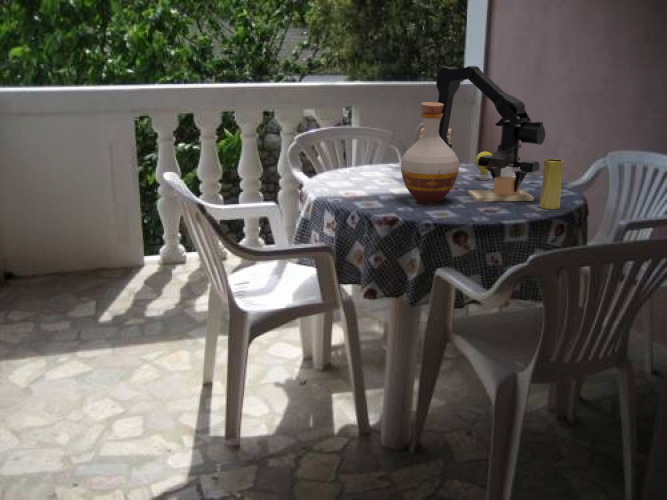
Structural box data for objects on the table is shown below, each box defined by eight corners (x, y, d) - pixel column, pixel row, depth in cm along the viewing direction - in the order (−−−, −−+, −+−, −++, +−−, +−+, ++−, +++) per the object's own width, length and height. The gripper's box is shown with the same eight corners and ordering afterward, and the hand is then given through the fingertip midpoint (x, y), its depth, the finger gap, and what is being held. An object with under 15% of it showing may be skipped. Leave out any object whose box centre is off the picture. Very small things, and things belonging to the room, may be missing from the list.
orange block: (509, 196, 223) (511, 180, 222) (493, 193, 228) (494, 177, 226) (520, 193, 228) (521, 177, 226) (503, 190, 232) (504, 175, 230)
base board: (476, 201, 222) (477, 188, 220) (467, 193, 232) (468, 181, 231) (533, 200, 223) (534, 188, 222) (521, 193, 233) (522, 181, 232)
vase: (536, 204, 218) (540, 158, 214) (557, 204, 218) (561, 158, 214) (541, 209, 212) (546, 161, 208) (562, 209, 212) (567, 161, 208)
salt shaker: (511, 185, 246) (514, 147, 242) (494, 184, 247) (497, 147, 243) (511, 181, 251) (514, 145, 248) (494, 181, 252) (497, 144, 249)
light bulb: (497, 179, 255) (499, 152, 252) (483, 181, 251) (485, 153, 248) (483, 176, 260) (485, 149, 257) (470, 178, 256) (471, 151, 253)
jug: (388, 195, 229) (390, 100, 221) (437, 191, 236) (441, 99, 227) (415, 209, 212) (419, 106, 203) (468, 204, 218) (474, 104, 209)
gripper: (470, 141, 222) (467, 190, 227) (526, 147, 211) (521, 199, 215) (488, 137, 230) (484, 184, 235) (542, 143, 219) (537, 193, 224)
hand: (506, 190), depth 227 cm, fingers closed on orange block, 6 cm apart
